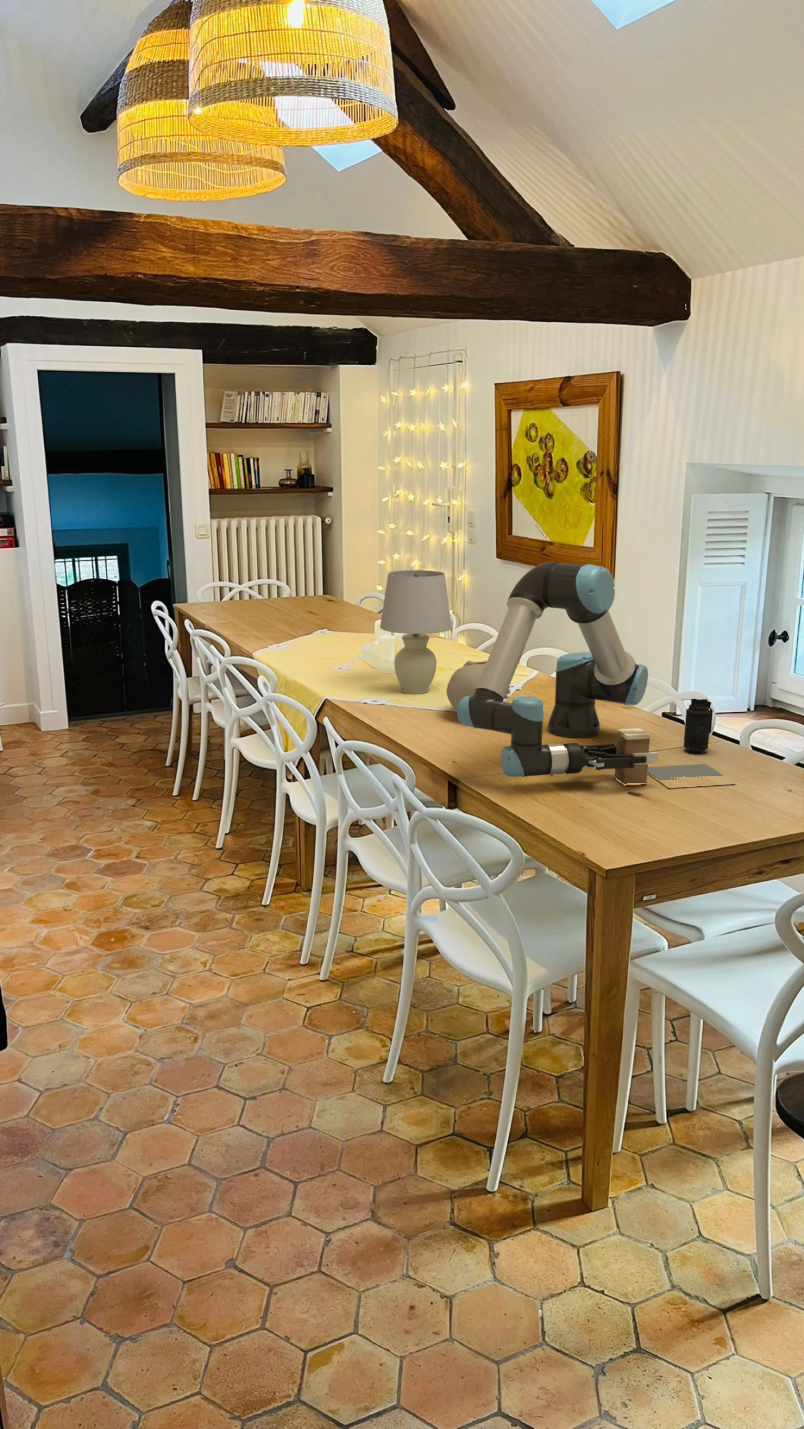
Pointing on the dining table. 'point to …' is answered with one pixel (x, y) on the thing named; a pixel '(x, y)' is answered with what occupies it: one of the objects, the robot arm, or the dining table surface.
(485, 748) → the dining table surface
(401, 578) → the lamp
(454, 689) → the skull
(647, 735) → the block
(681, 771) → the mat
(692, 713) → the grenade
